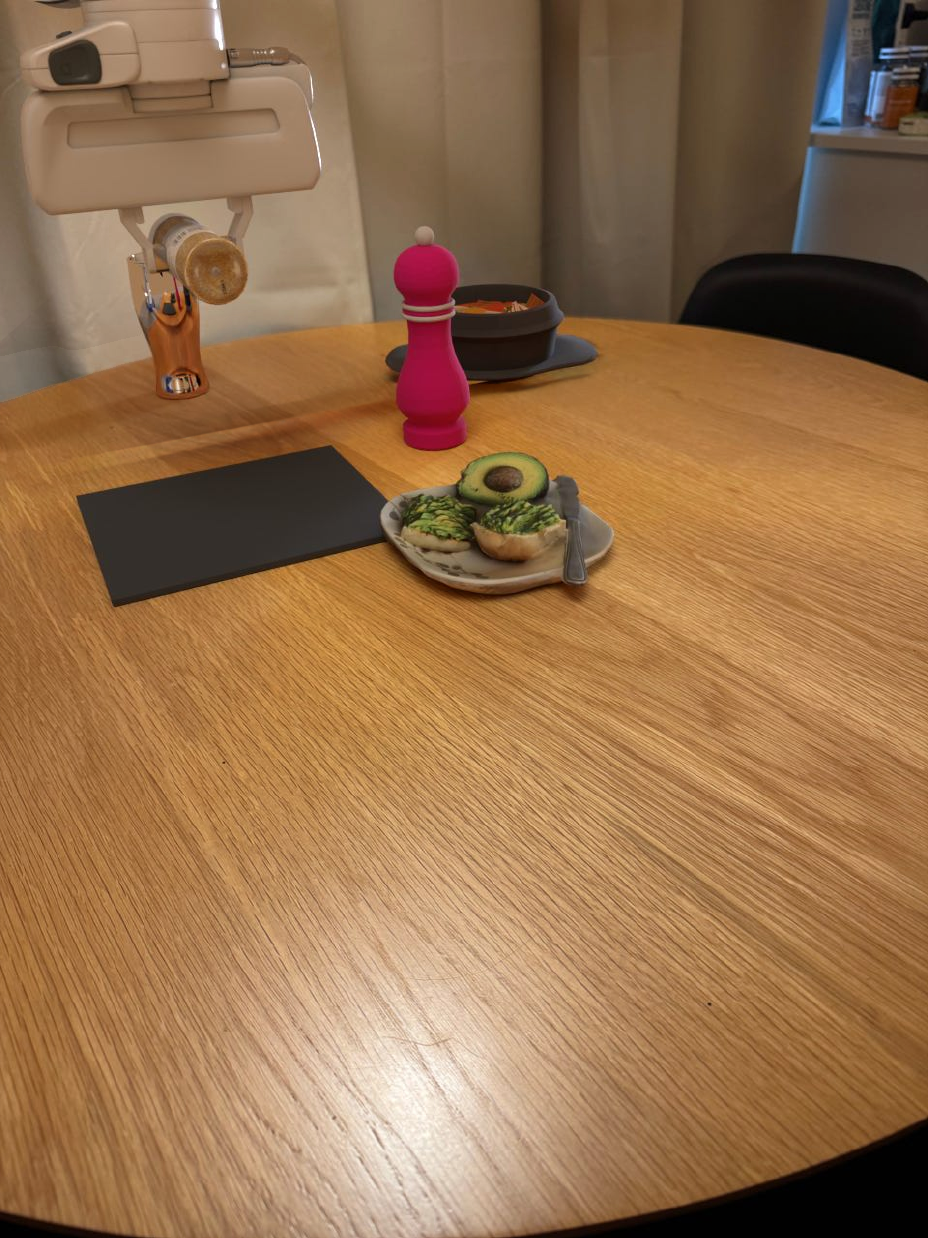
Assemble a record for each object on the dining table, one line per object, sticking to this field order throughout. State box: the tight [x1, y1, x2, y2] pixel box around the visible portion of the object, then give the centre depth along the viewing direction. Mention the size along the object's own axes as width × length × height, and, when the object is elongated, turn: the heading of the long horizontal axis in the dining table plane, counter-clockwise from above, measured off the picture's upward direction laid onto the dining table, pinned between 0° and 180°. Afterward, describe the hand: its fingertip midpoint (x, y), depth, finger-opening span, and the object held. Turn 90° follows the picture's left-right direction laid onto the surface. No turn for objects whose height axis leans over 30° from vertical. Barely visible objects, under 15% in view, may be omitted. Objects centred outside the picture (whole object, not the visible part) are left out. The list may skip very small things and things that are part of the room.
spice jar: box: [147, 212, 249, 306], centre depth 71 cm, size 5×5×13 cm
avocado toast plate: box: [380, 451, 615, 595], centre depth 75 cm, size 19×18×5 cm
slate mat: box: [75, 444, 389, 607], centre depth 83 cm, size 24×21×1 cm
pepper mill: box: [393, 225, 471, 451], centre depth 92 cm, size 7×7×20 cm
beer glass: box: [126, 252, 211, 400], centre depth 109 cm, size 7×7×15 cm
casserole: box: [384, 283, 598, 385], centre depth 113 cm, size 25×19×8 cm
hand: (195, 266), depth 72 cm, fingers closed on spice jar, 4 cm apart
